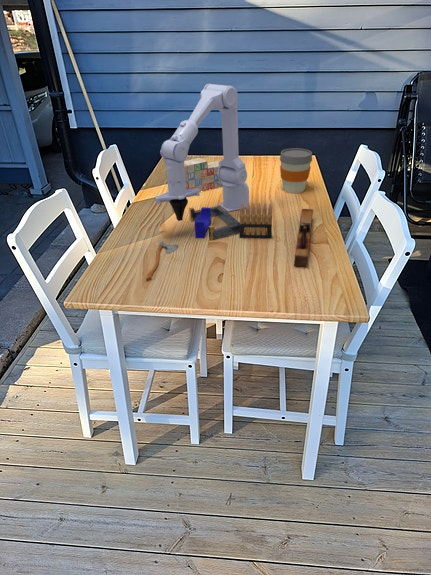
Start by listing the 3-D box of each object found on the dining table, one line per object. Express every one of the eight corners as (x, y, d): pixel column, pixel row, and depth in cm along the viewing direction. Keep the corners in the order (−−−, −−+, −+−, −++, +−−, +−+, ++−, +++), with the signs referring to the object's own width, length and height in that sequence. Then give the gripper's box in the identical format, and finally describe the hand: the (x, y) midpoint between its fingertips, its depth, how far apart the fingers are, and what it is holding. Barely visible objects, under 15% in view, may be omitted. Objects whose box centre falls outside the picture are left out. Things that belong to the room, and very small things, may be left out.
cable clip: (198, 222, 152) (197, 207, 149) (211, 223, 151) (210, 207, 148) (191, 238, 142) (190, 221, 139) (204, 238, 141) (203, 222, 138)
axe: (168, 282, 120) (167, 277, 119) (145, 282, 121) (144, 277, 120) (179, 245, 139) (179, 240, 138) (160, 245, 139) (159, 241, 138)
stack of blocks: (219, 181, 186) (218, 153, 179) (227, 185, 181) (226, 156, 174) (175, 192, 177) (173, 162, 170) (182, 197, 172) (180, 167, 165)
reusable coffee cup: (309, 184, 179) (312, 148, 171) (309, 195, 169) (312, 157, 161) (279, 183, 181) (281, 147, 173) (277, 194, 171) (279, 157, 163)
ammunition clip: (271, 236, 141) (273, 202, 135) (271, 238, 140) (273, 204, 133) (239, 235, 142) (239, 201, 136) (239, 238, 141) (239, 204, 134)
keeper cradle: (218, 213, 158) (218, 201, 155) (242, 232, 144) (242, 220, 141) (189, 219, 153) (188, 208, 151) (210, 240, 140) (210, 227, 137)
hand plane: (312, 269, 124) (315, 238, 118) (293, 268, 125) (296, 237, 119) (311, 219, 151) (314, 192, 146) (296, 218, 152) (299, 192, 147)
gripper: (158, 187, 128) (163, 228, 136) (202, 179, 133) (204, 219, 141) (151, 180, 133) (155, 220, 141) (193, 173, 138) (195, 211, 146)
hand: (179, 219), depth 141 cm, fingers closed
